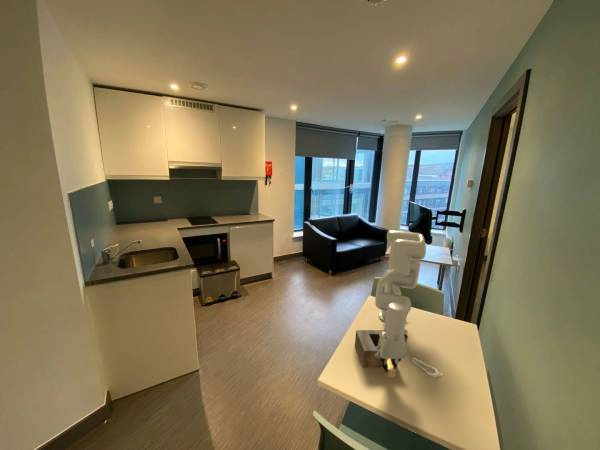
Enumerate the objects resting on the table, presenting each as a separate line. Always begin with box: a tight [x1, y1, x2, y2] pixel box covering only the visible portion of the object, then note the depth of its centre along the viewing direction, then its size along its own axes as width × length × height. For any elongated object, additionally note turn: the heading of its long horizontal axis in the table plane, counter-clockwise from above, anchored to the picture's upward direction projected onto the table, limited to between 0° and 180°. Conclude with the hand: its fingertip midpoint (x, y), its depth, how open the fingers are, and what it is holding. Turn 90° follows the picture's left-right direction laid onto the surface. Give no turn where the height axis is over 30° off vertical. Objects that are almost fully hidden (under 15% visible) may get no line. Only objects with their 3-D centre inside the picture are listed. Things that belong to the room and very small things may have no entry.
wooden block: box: [385, 359, 397, 378], centre depth 101 cm, size 3×6×4 cm, turn 2°
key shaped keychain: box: [411, 357, 443, 378], centre depth 109 cm, size 13×5×2 cm, turn 45°
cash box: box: [354, 329, 399, 369], centre depth 115 cm, size 16×14×9 cm
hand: (388, 369), depth 102 cm, fingers closed on wooden block, 2 cm apart
